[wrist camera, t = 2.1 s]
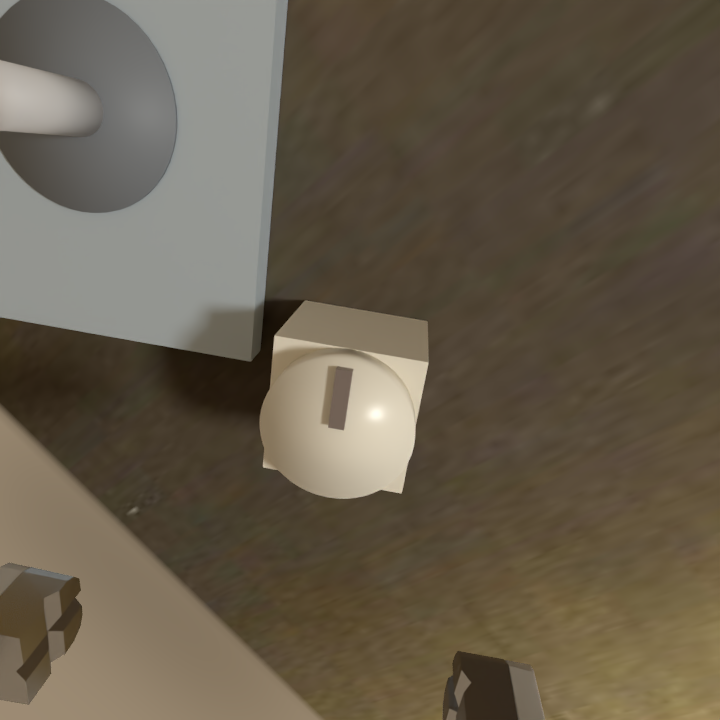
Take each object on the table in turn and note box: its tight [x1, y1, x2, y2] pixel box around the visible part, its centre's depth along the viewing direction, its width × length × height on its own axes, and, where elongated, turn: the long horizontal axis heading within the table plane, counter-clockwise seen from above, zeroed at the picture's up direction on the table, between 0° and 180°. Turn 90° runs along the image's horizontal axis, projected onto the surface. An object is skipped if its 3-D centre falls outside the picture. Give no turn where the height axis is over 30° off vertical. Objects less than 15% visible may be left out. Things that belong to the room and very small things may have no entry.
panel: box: [0, 0, 288, 362], centre depth 21 cm, size 18×16×7 cm
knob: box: [260, 300, 429, 499], centre depth 23 cm, size 6×6×7 cm
